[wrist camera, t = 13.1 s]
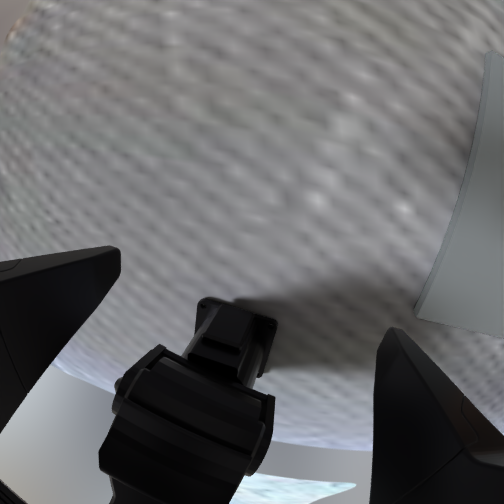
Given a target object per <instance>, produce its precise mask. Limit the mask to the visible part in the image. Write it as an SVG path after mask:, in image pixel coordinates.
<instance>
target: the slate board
mask: <svg viewBox="0 0 504 504" xmlns="http://www.w3.org/2000/svg"><path fill="white" fill-rule="evenodd" d="M413 311H414V313H415V316H416V318H420V319H424V320H428V321H432V322H436V323H440V324H444V325H448V326H452V327H456V328H461V329H465V330H469V331H473V332H477V333H482V334H486V335H490V336H495V337H499V338H503V339H504V57H502V56H501V55H499V54H497V53H496V52H494V51H489V52H487V53H486V56H485V69H484V78H483V87H482V94H481V101H480V108H479V114H478V119H477V125H476V130H475V135H474V140H473V144H472V149H471V153H470V157H469V161H468V165H467V169H466V173H465V176H464V180H463V184H462V187H461V190H460V194H459V197H458V200H457V203H456V207H455V210H454V213H453V216H452V219H451V222H450V224H449V227H448V230H447V233H446V236H445V238H444V241H443V244H442V246H441V249H440V251H439V254H438V256H437V259H436V261H435V264H434V266H433V268H432V271H431V273H430V275H429V278H428V280H427V282H426V285H425V287H424V289H423V291H422V293H421V295H420V298H419V300H418V302H417V304H416V306H415V308H414V310H413Z"/></svg>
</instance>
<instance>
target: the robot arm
mask: <svg viewBox="0 0 504 504" xmlns="http://www.w3.org/2000/svg"><path fill="white" fill-rule="evenodd" d="M120 273H121V252H120V250H119V249H118V248H116V247H113V246H102V247H95V248H88V249H81V250H74V251H68V252H61V253H54V254H48V255H41V256H35V257H29V258H23V259H16V260H9V261H3V262H0V433H1V432H2V430H3V429H4V427H5V426H6V424H7V423H8V421H9V420H10V418H11V417H12V415H13V414H14V413H15V411H16V410H17V408H18V407H19V406H20V404H21V403H22V401H23V400H24V399H25V397H26V396H27V393H29V392H30V390H31V389H32V388H33V386H34V385H35V383H36V382H37V381H38V380H39V378H40V377H41V376H42V374H43V373H44V372H45V370H46V369H47V368H48V367H49V365H50V364H51V363H52V361H53V360H54V359H55V358H56V356H57V355H58V354H59V353H60V351H61V350H62V349H63V348H64V346H65V345H66V344H67V343H68V342H69V340H70V339H71V338H72V337H73V335H74V334H75V333H76V332H77V331H78V329H79V328H80V327H81V326H82V325H83V324H84V322H85V321H86V320H87V319H88V318H89V317H90V315H91V314H92V313H93V312H94V311H95V309H96V308H97V307H98V306H99V304H100V303H101V302H102V300H103V299H104V297H105V296H106V294H107V293H108V292H109V290H110V289H111V287H112V286H113V285H114V283H115V282H116V280H117V279H118V278H119V276H120ZM203 304H205V305H206V306H203ZM269 324H272V325H273V327H272V326H269ZM277 326H278V323H277V321H276V320H274V319H272V318H268V317H265V316H261V315H258V314H254V313H252V312H249V311H246V310H242V309H239V308H236V307H232V306H229V305H226V304H221V303H218V302H215V301H211V300H208V299H204V298H203V299H201V300H200V301H199V302H198V305H197V314H196V324H195V334H194V337H193V339H192V340H191V342H190V343H189V345H188V346H187V348H186V349H185V351H184V353H183V354H182V356H179V355H177V354H175V353H173V352H171V351H169V350H167V349H166V347H165V346H163V345H161V344H159V345H157V346H156V347H155V348H154V349H153V350H150V351H149V352H148V353H147V354H146V355H145V356H143V357H142V358H141V359H140V360H139V361H138V362H137V363H135V364H134V365H133V366H132V367H131V368H130V369H129V370H127V371H126V372H125V374H124V375H123V377H121V378H119V379H118V380H117V381H116V382H115V385H114V388H115V391H116V395H115V398H114V400H113V405H112V412H113V413H114V414H115V415H116V416H115V419H114V421H113V423H112V425H111V428H110V430H109V432H108V435H107V437H106V439H105V441H104V442H103V444H102V446H101V448H100V450H99V468H100V470H101V471H103V472H104V473H106V474H107V475H109V477H110V482H111V487H112V491H113V497H112V499H111V501H110V503H109V504H229V502H230V501H231V499H232V497H233V495H234V493H235V492H236V490H237V488H238V486H239V484H240V483H241V481H242V479H243V477H244V475H246V476H252V475H253V474H254V473H255V472H256V470H257V469H258V468H259V466H260V464H261V463H262V461H263V459H264V457H265V455H266V453H267V450H268V448H269V445H270V442H271V439H272V434H273V425H274V411H275V396H272V395H270V394H268V395H266V394H263V393H261V392H258V391H256V390H253V386H254V383H255V380H256V378H260V377H261V376H262V374H263V371H264V368H265V365H266V362H267V359H268V356H269V352H270V349H271V346H272V343H273V339H274V336H275V333H276V330H277ZM371 477H372V478H371V490H370V501H369V504H504V435H503V434H502V433H501V432H500V431H499V430H498V429H497V428H496V427H495V426H494V425H493V424H492V423H491V422H490V421H489V420H488V419H487V418H486V417H485V416H484V415H483V414H482V413H481V412H480V411H479V410H478V409H477V408H476V407H475V406H474V405H473V404H472V403H471V402H470V400H469V399H468V398H467V397H466V396H464V394H463V393H462V392H461V391H460V390H459V388H458V387H457V386H456V385H455V384H454V383H453V382H452V381H451V380H450V379H449V378H448V377H447V376H446V374H445V373H444V372H443V371H442V370H441V369H440V368H439V367H438V366H437V365H436V364H435V363H434V362H433V361H432V360H431V359H430V358H429V357H428V356H427V354H426V353H425V352H424V351H423V350H422V349H421V348H420V347H419V346H418V345H417V344H416V343H415V342H414V341H413V340H412V339H411V338H410V337H409V336H408V335H407V334H406V333H405V332H404V331H403V330H402V329H398V328H394V327H390V328H389V329H388V330H387V332H386V334H385V336H384V338H383V340H382V342H381V344H380V345H379V347H378V350H377V357H376V370H375V382H374V394H373V458H372V476H371ZM0 504H28V503H26V502H25V501H24V500H23V499H22V498H20V497H19V496H18V495H17V494H16V493H15V492H14V491H12V490H11V489H10V488H9V487H8V486H7V485H6V484H5V483H4V482H3V481H2V480H0Z"/></svg>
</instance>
